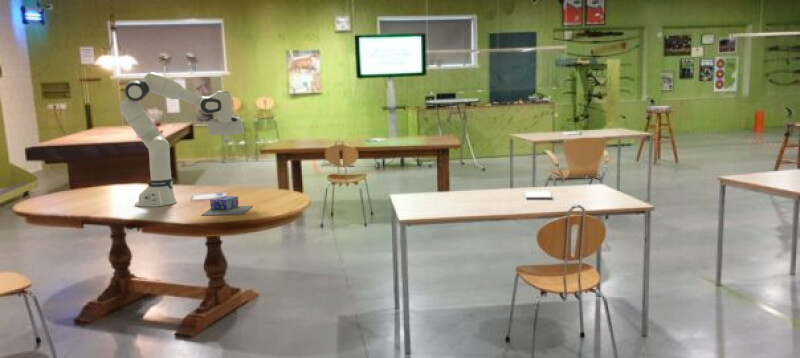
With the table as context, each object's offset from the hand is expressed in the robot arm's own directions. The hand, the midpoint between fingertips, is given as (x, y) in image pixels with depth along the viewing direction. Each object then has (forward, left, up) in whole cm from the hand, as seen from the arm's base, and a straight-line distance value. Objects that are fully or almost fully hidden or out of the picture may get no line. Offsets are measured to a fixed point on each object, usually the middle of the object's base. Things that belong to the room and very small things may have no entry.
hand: (227, 142), depth 375 cm
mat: (+8, -37, -33) cm, 50 cm away
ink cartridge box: (+7, -23, -30) cm, 39 cm away
